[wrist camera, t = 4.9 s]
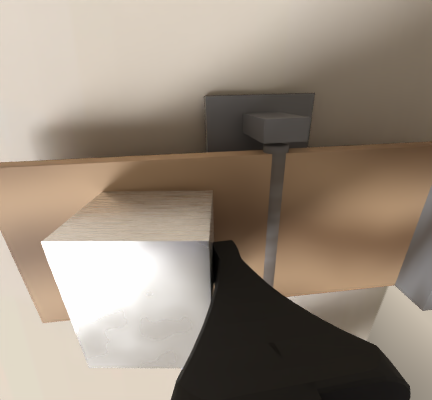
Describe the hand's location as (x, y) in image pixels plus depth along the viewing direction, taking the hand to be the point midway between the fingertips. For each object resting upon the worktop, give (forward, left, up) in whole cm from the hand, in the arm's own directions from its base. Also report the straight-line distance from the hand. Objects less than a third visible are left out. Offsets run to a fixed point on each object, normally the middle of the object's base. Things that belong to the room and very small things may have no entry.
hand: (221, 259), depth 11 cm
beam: (0, -3, -2) cm, 4 cm away
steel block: (0, +3, -2) cm, 3 cm away
